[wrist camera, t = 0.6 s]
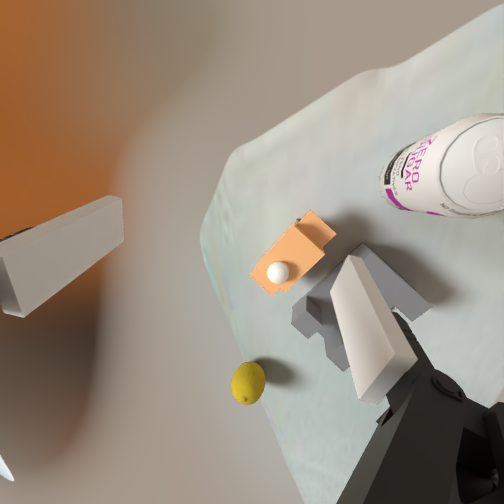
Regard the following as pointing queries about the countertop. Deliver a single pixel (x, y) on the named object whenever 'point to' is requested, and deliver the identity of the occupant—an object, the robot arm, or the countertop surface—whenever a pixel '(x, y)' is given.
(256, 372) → the lemon
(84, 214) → the robot arm
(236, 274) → the countertop surface
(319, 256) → the block
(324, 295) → the grey stand
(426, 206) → the supplement can
